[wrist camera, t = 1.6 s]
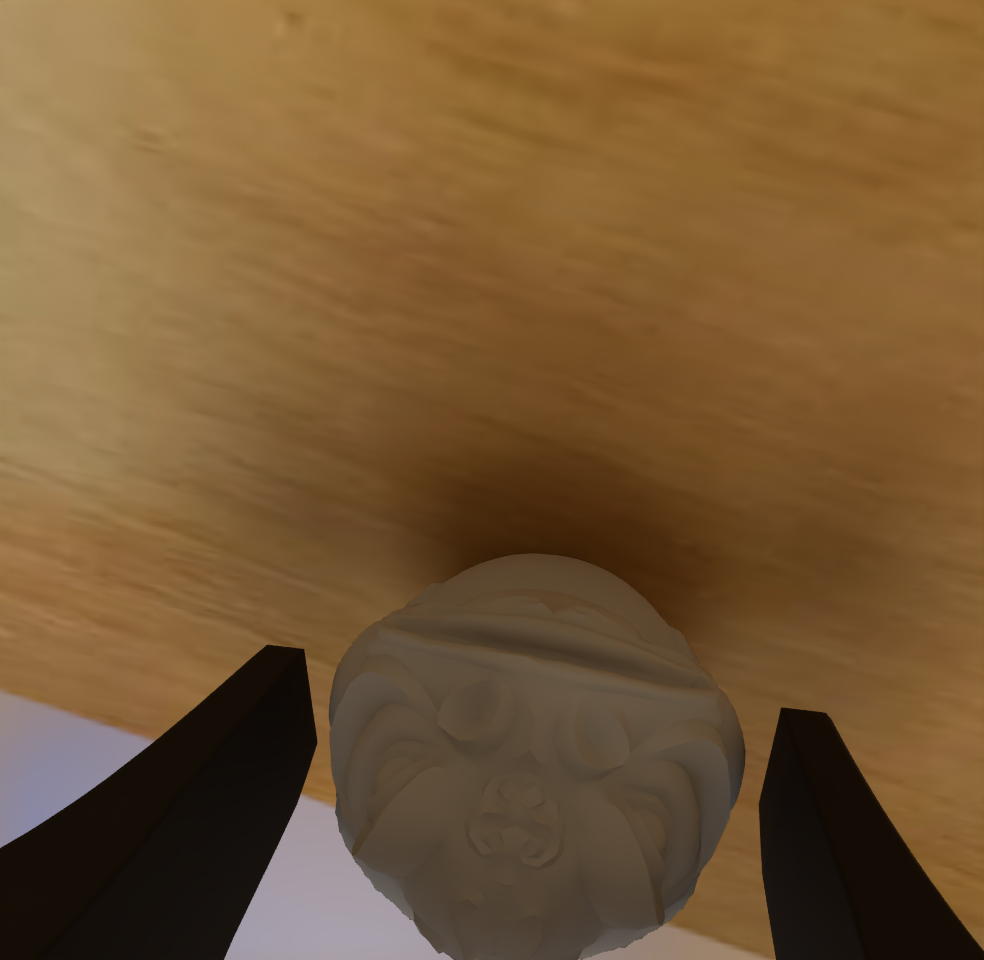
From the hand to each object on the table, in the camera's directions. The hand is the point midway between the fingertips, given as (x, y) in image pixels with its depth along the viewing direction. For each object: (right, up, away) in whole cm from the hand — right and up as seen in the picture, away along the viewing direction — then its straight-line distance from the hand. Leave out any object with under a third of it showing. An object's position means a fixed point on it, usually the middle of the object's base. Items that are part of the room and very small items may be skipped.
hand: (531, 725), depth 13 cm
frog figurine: (+1, +2, +3) cm, 3 cm away
